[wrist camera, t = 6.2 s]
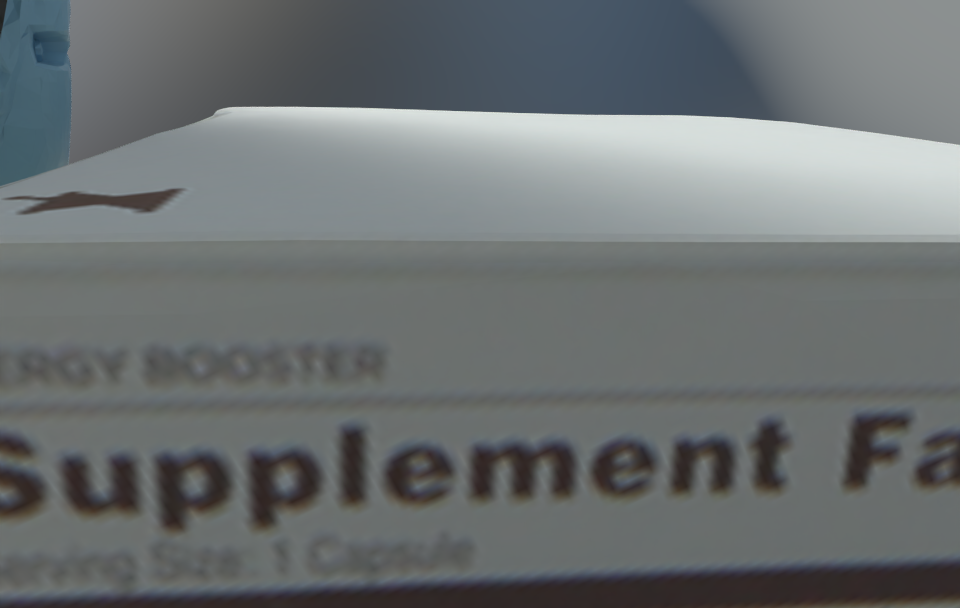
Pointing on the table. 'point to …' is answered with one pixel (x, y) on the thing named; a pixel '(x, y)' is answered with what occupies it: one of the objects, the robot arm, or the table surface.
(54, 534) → the supplement box
